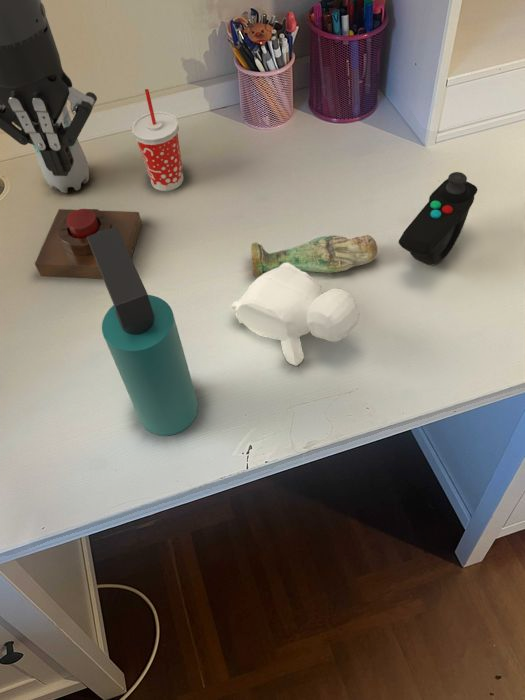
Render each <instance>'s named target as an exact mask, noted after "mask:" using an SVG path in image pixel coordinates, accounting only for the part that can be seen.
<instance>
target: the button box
mask: <svg viewBox="0 0 525 700" xmlns="http://www.w3.org/2000/svg"><path fill="white" fill-rule="evenodd" d="M88 209H89V210H92V211H93V212H94V213H95V215H96V218H97V221H98V224H99V229H98V231H100V230H107V229H110V228H113V227H117V228H118V230H119V232H120V234H121V237H122V239H123V241H124V243H125V245H126V248H127V250H128V252H129V254H130V256H131V258H132V256H133V254H134V251H135V249H136V248H135V247H136V244H137V241H138V239H139V235H140V233H141V229H142V227H143V221H142V217H141V215H140V211H128V210H127V211H125V210H124V211H123V210H100V209H97V208H88ZM76 210H77V209H70V208H69V209H65V208H59V209H58V210H57V213H56V215H55V216H54V217H55V218H54V220H53V222H52V224H51V226H50V229H49V230H48V233H47V235H46V237H45V240H44V242H43V244H42V247H41V248H40V251H39V253H38V255H37V257H36V260H35V261H34V266H35V267H36V269H37V271H38V274H39V275H40V276H41V277H57V278H58V277H60V278H61V277H62V278H82V279H99V280H100V279H101V280H102V279H103V277H102V275H101V272H100V270H99V267H98V265H97V262H96V260H95V257H94V255H93V252H92V250H91V247H90V244H89V242H88V239H87V238H84V239H80V238H75V237H74V236H72V234H71V232H70V230H69V227H68V225H67V218H68V216H69V215H70V214H71V213H72V212H74V211H76ZM98 231H97V232H98ZM97 232H96V233H97ZM96 233H95V234H96Z"/></svg>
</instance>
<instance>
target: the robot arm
mask: <svg viewBox="0 0 525 700" xmlns="http://www.w3.org/2000/svg"><path fill="white" fill-rule="evenodd" d="M46 13H47V12H46V8H45V5H44V4H43V2H42V0H0V129H1V131H3V132H4V133H6V135H8V136H9V137H11V138H12V139H13V140H14V141H16V142H17V143H18V144H20V145H22V146H26V145H29V144H30V145H32V144H33V145H35V147H36V148H37V149H39V151H40V153H41V155H42V158H43V160H44V163H45V165H46V167H47V169H48V170H49V171H52V173H53V175H54V176H67V175H68V173H69V171H70V170H71V168H72V166H73V163H74V159H73V156H72V154H71V151H70V148H69V146H73V145H74V143H75V141H76V140H77V138H78V139H79V136H80V134H81V132H82V130H83V129H84V127H85V125H86V123H87V121H88V119H89V117H90V116H91V113H92V111H93V110H94V107H95V106H96V102H97V101H98V97H97V95H96V94H95V93H94V92H91V91H88V92H86V93H85V94H84V93H83V92H81V91H80V90H78V89H77V88H75V87H73V83H72V80H71V78H70V77H69V76H68V75H67V74H66V73H65V70H64V69H63V67H62V61H61V57H60V53H59V50H58V47H57V44H56V41H55V38H54V36H53V32H52V29H51V26H50V23H49V21H48V17H47V15H46ZM68 101H69V104H70V111H71V114H72V115H73V118H72V119H71V121H72V122H71V124H70V126H68V127H65V125H64V121H63V117H64V114H63V109H64V107H65V104H66V102H67V103H68ZM33 145H32V146H33Z"/></svg>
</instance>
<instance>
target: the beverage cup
mask: <svg viewBox="0 0 525 700" xmlns="http://www.w3.org/2000/svg"><path fill="white" fill-rule="evenodd" d="M144 93H145V97H146V102H147V105H148V110H149V112H147V113H145V114H142V115H141V116H138V117H137V118H136V119H135V120H134V121H133V123H132V125H131V132H132V135H133V138H134V139H135V140H136V141H137V146H138V148H139V151H140V153H141V157H142V160H143V162H144V165H145V168H146V173H147V174H148V178H149V181H150V184H151V186H152V187H153V188H154V189H155V190H157V191H160V192H169V191H173V190H175V189H177V188H179V187H180V186H181V185H182V184H183V182H184V178H185V177H184V171H183V170H184V169H183V163H182V154H181V147H180V140H179V133H178V132H179V129H180V127H179V122H178V117H176V116H175V115H174V114H173V113H171V112H167V111H154V107H153V103H152V98H151V93H150V90H149V89H148V88H145V89H144Z"/></svg>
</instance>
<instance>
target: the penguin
mask: <svg viewBox="0 0 525 700" xmlns="http://www.w3.org/2000/svg"><path fill="white" fill-rule="evenodd" d="M322 290H323V289H322V284H321V283H320V281H317V280H316V279H315V278H313V277H312V276H310V275H309V273H307V271H303V270H299V269H298V268H296V267H294V266H293V265H291V264H290V263H283V264H282V265H280V266H279V268H275V269H273V270H270V271H268V272H266V273H264V274H262V275H261V276H257V278H256V279H255V280H254V281H253V282H252V283H251V284H250V286H249V287H248V288H247V290H246V291H245V293H244V294H243V295H241V296H240V298H239V300H235V301H233V303H232V304H231V305H230V306H231V308H232V309H233V310H234V312H235V318H236V319H237V321H238V323H240V324H243V325H244V326H246V328H248V329H249V330H250V331H251V332H253V333H254V334H257V335H258V336H260V337H263V338H265V337H266V338H267V339H273V340H279V341H280V344H281V345H280V347H281V349H282V352H283V353H282V354H283V357H284V358H285V360H286V362H287V363H288V364H290V365H293V366H295V367H297V366H298V365H300V364H301V363H302V362H303V360H304V359H305V354H304V352H303V347H302V342H301V338H300V337H302V336H304V335H306V334H308V333H311V335H312V336H314V337H315V338H317V339H323V340H326V341H329V342H335V343H336V342H339V341H341V340H342V339H344V338H345V337H346V336H348V335H349V334H350V333H351V332H352V331H353V330H354V329H355V327H356V326H357V325H358V321H359V319H360V311H359V308H358V306H357V303H356V301H355V300H354V298H353V297H352V295H351V294H350V293H349V292H347V291H346V290H344V289H341V288H331V289H328V290H326V291H324V292H323V291H322Z"/></svg>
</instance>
